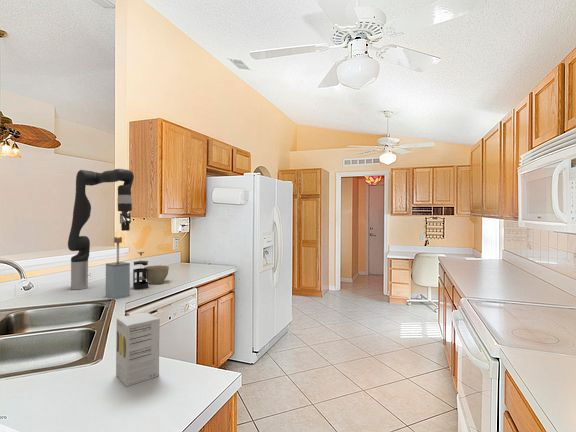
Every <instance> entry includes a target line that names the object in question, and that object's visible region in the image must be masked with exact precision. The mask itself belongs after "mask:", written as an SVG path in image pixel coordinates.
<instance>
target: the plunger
mask: <svg viewBox="0 0 576 432" xmlns="http://www.w3.org/2000/svg"><path fill="white" fill-rule="evenodd" d="M113 242H114V243H115V244H116V262H117V264H119V262H120V244H121V243H123V237H122V236H116V237H115V236H114V237H113ZM114 243H113V244H114Z"/></svg>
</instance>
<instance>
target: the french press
mask: <svg viewBox="0 0 576 432" xmlns="http://www.w3.org/2000/svg"><path fill="white" fill-rule="evenodd" d="M137 254H139V255H140V256H142V255H143V254H145V252H144V251H143V252H142V251H139V252H137ZM132 263H133V266H137V265H141V266H144V267H147V266H148V264H149V260H137V261H133V262H132ZM144 267H140V268H133V271H132V272H133V273H132V274H133V275H132V280H133V281H132V282H133V283H132V290H136V291H137V290H146V289H149V288H150V286H149V281H148V269H147V268H144ZM146 272H147V277H146Z"/></svg>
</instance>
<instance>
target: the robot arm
mask: <svg viewBox="0 0 576 432" xmlns="http://www.w3.org/2000/svg"><path fill="white" fill-rule="evenodd" d="M134 176H135V175H134V173H133V171H132V170H130V169H125V168H124V169H123V168H115V169H111V170H104V171H102V172H97V171H92V170H86V169H80V170H78V171H77V173H76V177H75V198H74V205H73V211H72V220H71V228H70V231H69V236H68V241H67V248H68V250H69V251H71V252H78V253H76V254H75V255H73V256H71V258H70V290H73V291H75V290H85V289H88V288H89V257H90V250H91V249H90V248H91V241H90V239H89V237H88V236H86V235H80V233H81V231H82V229H83V227H84V226H85V225H86V223H87V222H88V221H89V219H90V218H91V210H92V205H91V202H90V200H89V198H88V196H87V194H86V186H88V187H89V186H97V185H100V184H103V183H116V182H123V184H121V185H118V186H117V212H121V213H119V224H120V225H121V227H120V228H121V230H120V231H123V232H124V231H126V232H128V231H130V229H131V228H130V226H131V225H130V224H131V223H132V219H131V213H132V212H131V211H133V201H132V200H133V199H132V185H133V182H134Z"/></svg>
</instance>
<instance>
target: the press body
mask: <svg viewBox="0 0 576 432" xmlns="http://www.w3.org/2000/svg"><path fill="white" fill-rule="evenodd" d="M130 263H131V262H125V261H119V264H117V261H116V262H108V263H105V297H106V298H109V299H111V298H112V299H111V300H116V299H121V298H126V297H130V296H131V294H130V293H131V291H130V289H131V287H130V285H131V284H130V283H131V282H130V281H131V280H130V278H131V277H130V276H131V273H130V271H131V264H130Z"/></svg>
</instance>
